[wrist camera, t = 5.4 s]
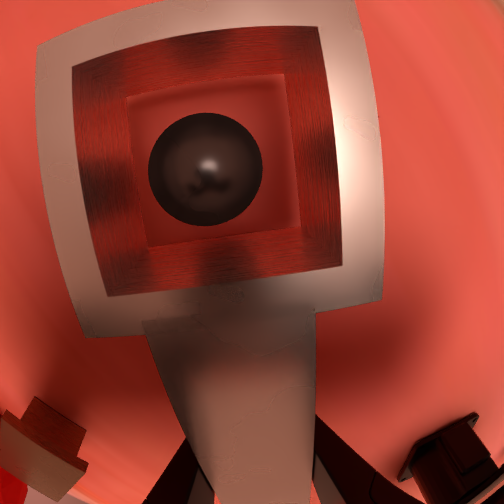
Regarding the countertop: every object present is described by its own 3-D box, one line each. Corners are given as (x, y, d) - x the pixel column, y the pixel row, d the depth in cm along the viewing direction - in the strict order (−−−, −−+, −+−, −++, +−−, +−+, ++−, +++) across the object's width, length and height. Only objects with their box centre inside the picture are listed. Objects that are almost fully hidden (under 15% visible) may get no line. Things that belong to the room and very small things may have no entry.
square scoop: (322, 463, 11) (337, 512, 8) (206, 478, 11) (206, 529, 8) (309, 46, 6) (352, -5, 3) (97, 78, 6) (36, 45, 3)
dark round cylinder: (249, 191, 10) (268, 218, 5) (188, 200, 9) (158, 233, 5) (242, 131, 9) (255, 106, 5) (180, 139, 9) (142, 124, 5)
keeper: (52, 345, 11) (1, 417, 6) (115, 388, 12) (85, 472, 7) (30, 409, 12) (0, 466, 7) (79, 441, 13) (57, 502, 8)
